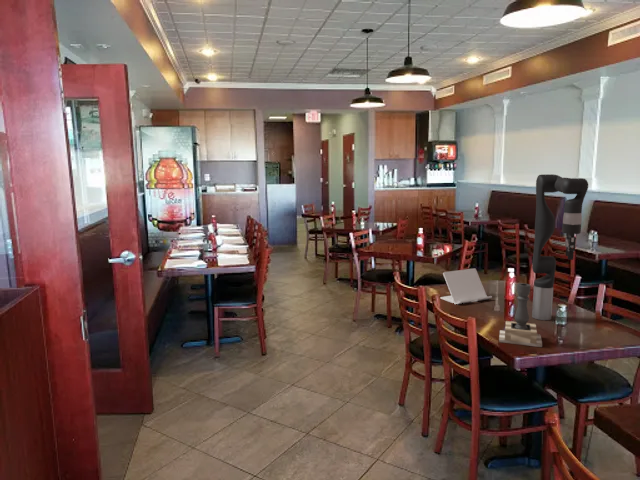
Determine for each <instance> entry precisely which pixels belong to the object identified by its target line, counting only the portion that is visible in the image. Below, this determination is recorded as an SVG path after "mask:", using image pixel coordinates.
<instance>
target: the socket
mask: <svg viewBox="0 0 640 480" xmlns="http://www.w3.org/2000/svg"><path fill="white" fill-rule="evenodd" d="M516 324H517V323H516V321H509V320H505V328H504V330H501V329H500V330H499V336H498V337H499V338H498V343H502V344H503V343H504V344H505V343H506V344H512V345H520V346H527V347H529V346H530V347H538V348H543V341H542V336H541V335H542V334H539V333H538V331H537V325H536V323H530V322H527V324H526V326H527V327H528V329H527V330H523V329H515V325H516Z"/></svg>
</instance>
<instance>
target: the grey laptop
mask: <svg viewBox="0 0 640 480" xmlns="http://www.w3.org/2000/svg"><path fill="white" fill-rule="evenodd" d="M442 275H443V278H444V280H445V283H446V285H447V288H448V291H449V293H450V295H445V296H441V297H440V299H441V300H444V301H446V302H448V303H452V304H453V303H454V305H456V304H457V305H461V304H462V303H463V304H468V303H474V302H475V303H476V302H478V301H479V302H480V301H486V300H490V299H492V298H493V296H492V295H487V292H486V290H485V288H484V286H483V283H482V281H481V279H480V276H479V273H478V271H477V268H468V269H467V268H464V269H460V270H458V269H457V270H451V271H444V272H443V273H442Z"/></svg>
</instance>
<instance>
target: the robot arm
mask: <svg viewBox="0 0 640 480" xmlns="http://www.w3.org/2000/svg"><path fill="white" fill-rule="evenodd" d="M588 189H589V182H588V179H586V178H582V177H579V178H575V177H574V178H571V177H562V176H560V175H558V174H551V173H550V174H539V175H537V177H536V181H535V195H536V196H535V198H536V200H535V202H536V206H535V221H534V244H533V245H534V246H533V255H532V261H531V262H532V263H531V266H532V267H531V268H532V272H533V273H534V274H545V275H544V276H542V277H540V278H537V279H535V280H534V282H533V294H532V295H533V298H532V311H531V312H532V313H531V314H532V315H531V317H532V318H533V319H534V320H535V319H536V320H539V321H549V320H550V321H551V320H552V311H553V299H554V285H555V276H556V275H555V274H556V268H557V260H556V257H554V256H551V255H550V256H549V255H541V254H542V251H543V249H544V246H545V245H546V244H547V242H548V241H549V240H550V238H551V237H552V236H553V234H554V233H555V224H556V217H555V215H554V213H553V212H552V210H551V208H550V207H549V206H548V203H547V201H546V198H545V193H547V194H548V193H553V194H554V193H558V192H560V193H562V194H565V195H575V196H574V198H570V199H566V200H565V201H564V207H563V208H564V209H563V217H562V227H561V228H562V229H561V231H562V233H563V234H566V236H565V243H564V244H565V257H567V260H568V261H570V260H571V261H572V260H574V258H575V257H574V255H575V254H574V253H575V251H576V243H577V238H576V236H575V235H579V234H581V233H582V222H583V221H582V220H583V219H582V218H583V216H582V215H583V213H582V212H583V203H584V200H585V197H586V195H587V192H588Z"/></svg>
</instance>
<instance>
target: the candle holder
mask: <svg viewBox="0 0 640 480" xmlns="http://www.w3.org/2000/svg"><path fill="white" fill-rule="evenodd" d="M516 293H517V295H518V296H516V299H517V308H516V311H515V314H514V319H515V322H516V323H517V324H516V325H515V329H523V330H527V329H528V327H527V326H526V324H527V323H529V320H530V317H529V316H530V315H529V310H528V301H529V300H530V297H529V295H530V293H531V284H529V283H523V282H521V283H516Z"/></svg>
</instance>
